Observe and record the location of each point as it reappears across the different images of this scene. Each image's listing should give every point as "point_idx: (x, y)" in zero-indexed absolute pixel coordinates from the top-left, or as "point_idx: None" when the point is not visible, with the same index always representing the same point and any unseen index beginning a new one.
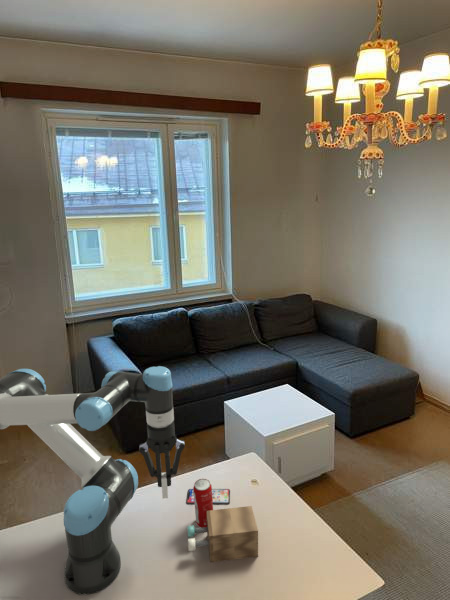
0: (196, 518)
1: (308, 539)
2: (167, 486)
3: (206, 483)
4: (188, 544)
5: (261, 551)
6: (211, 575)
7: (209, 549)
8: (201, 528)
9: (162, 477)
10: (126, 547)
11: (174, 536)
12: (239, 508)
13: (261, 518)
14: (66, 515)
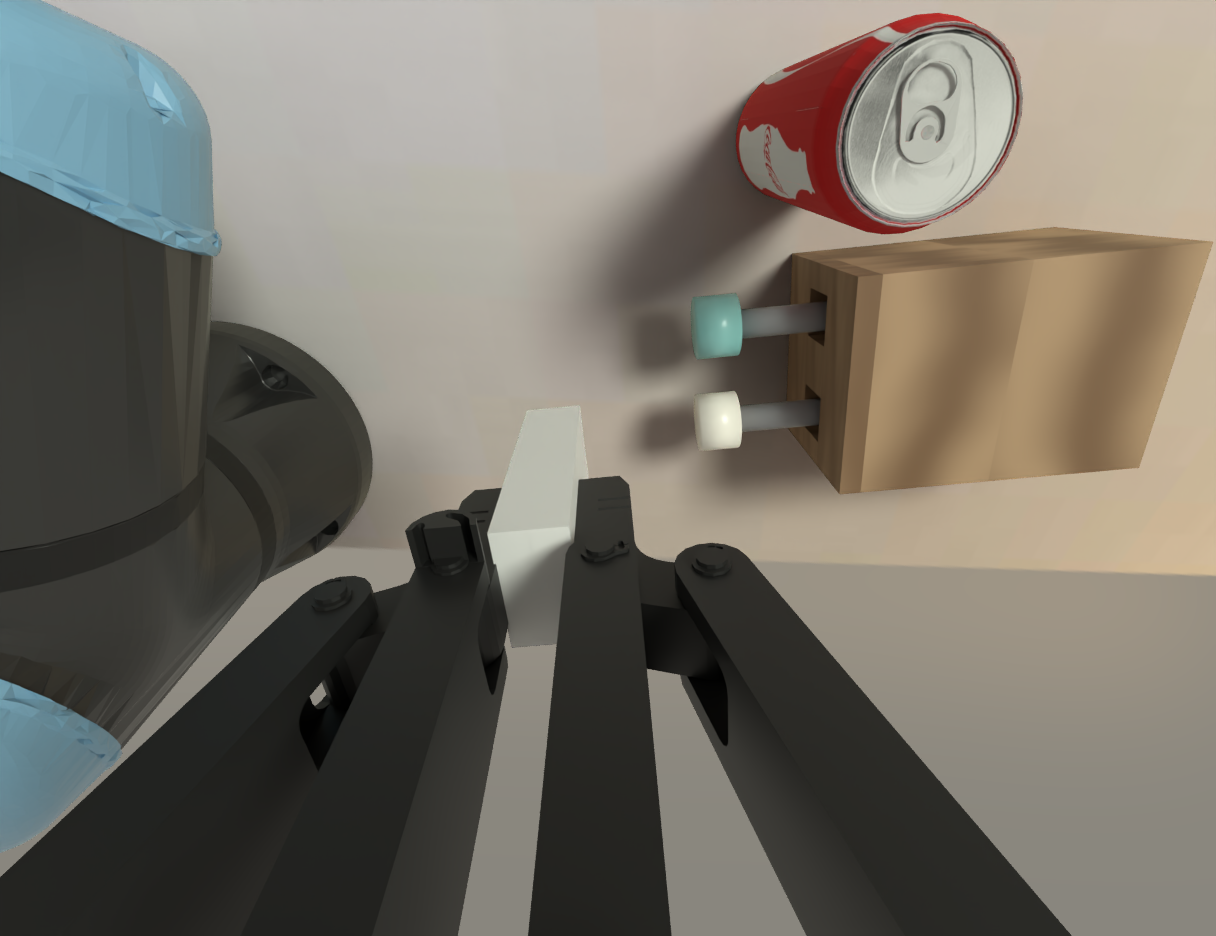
0: (749, 168)
1: None
2: (579, 456)
3: (977, 116)
4: (702, 448)
5: None
6: (782, 487)
7: None
8: (783, 326)
9: (523, 626)
10: (352, 316)
11: (603, 250)
12: (1109, 265)
13: (1157, 120)
14: None
